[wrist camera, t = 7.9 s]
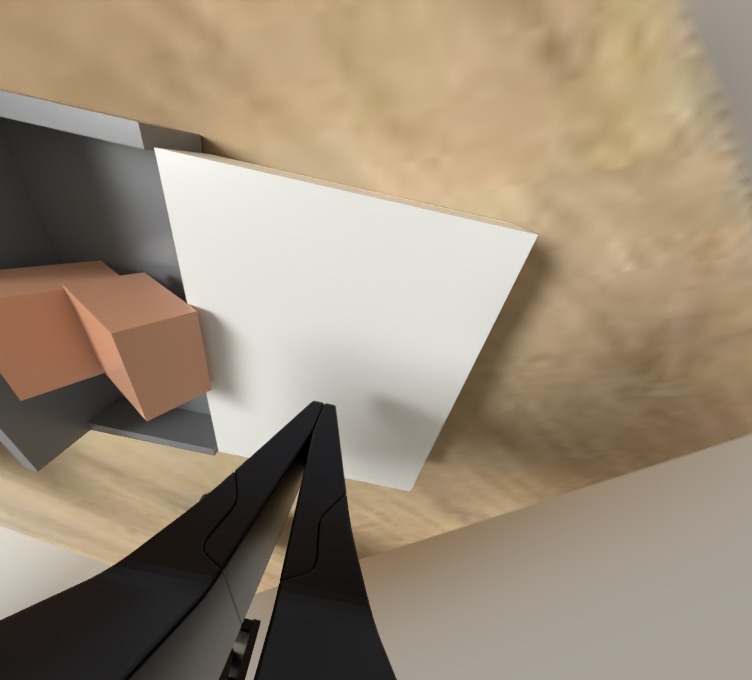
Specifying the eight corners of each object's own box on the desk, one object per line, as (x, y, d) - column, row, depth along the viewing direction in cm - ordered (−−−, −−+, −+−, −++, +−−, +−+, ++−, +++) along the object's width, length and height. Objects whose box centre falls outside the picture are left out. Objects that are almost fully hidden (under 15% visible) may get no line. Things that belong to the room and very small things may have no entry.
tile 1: (211, 389, 12) (146, 421, 10) (165, 348, 13) (102, 369, 11) (197, 310, 10) (111, 333, 8) (144, 272, 11) (61, 283, 9)
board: (410, 452, 17) (410, 491, 15) (242, 416, 17) (218, 451, 15) (509, 222, 10) (538, 234, 7) (211, 154, 9) (154, 147, 7)
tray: (238, 421, 17) (183, 501, 13) (120, 396, 17) (25, 468, 13) (200, 134, 9) (21, 98, 5) (-22, 84, 9) (-402, 1, 5)
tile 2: (20, 401, 10) (2, 369, 11) (149, 357, 13) (127, 335, 14) (-49, 304, 8) (-65, 275, 9) (125, 280, 11) (100, 260, 12)
